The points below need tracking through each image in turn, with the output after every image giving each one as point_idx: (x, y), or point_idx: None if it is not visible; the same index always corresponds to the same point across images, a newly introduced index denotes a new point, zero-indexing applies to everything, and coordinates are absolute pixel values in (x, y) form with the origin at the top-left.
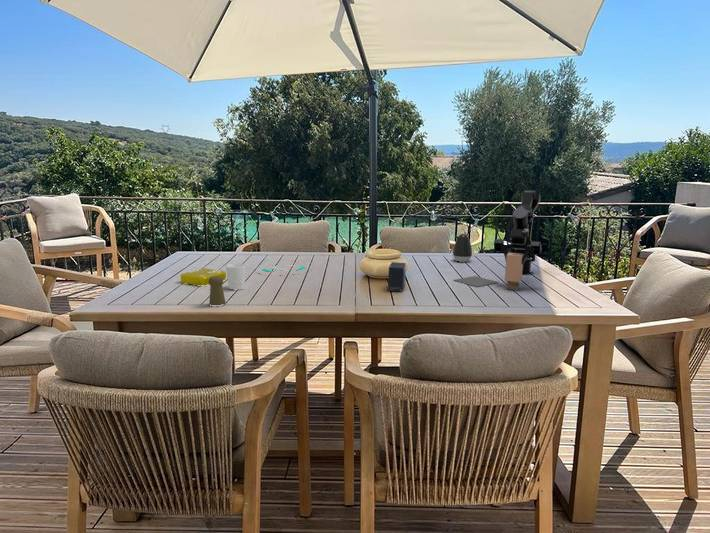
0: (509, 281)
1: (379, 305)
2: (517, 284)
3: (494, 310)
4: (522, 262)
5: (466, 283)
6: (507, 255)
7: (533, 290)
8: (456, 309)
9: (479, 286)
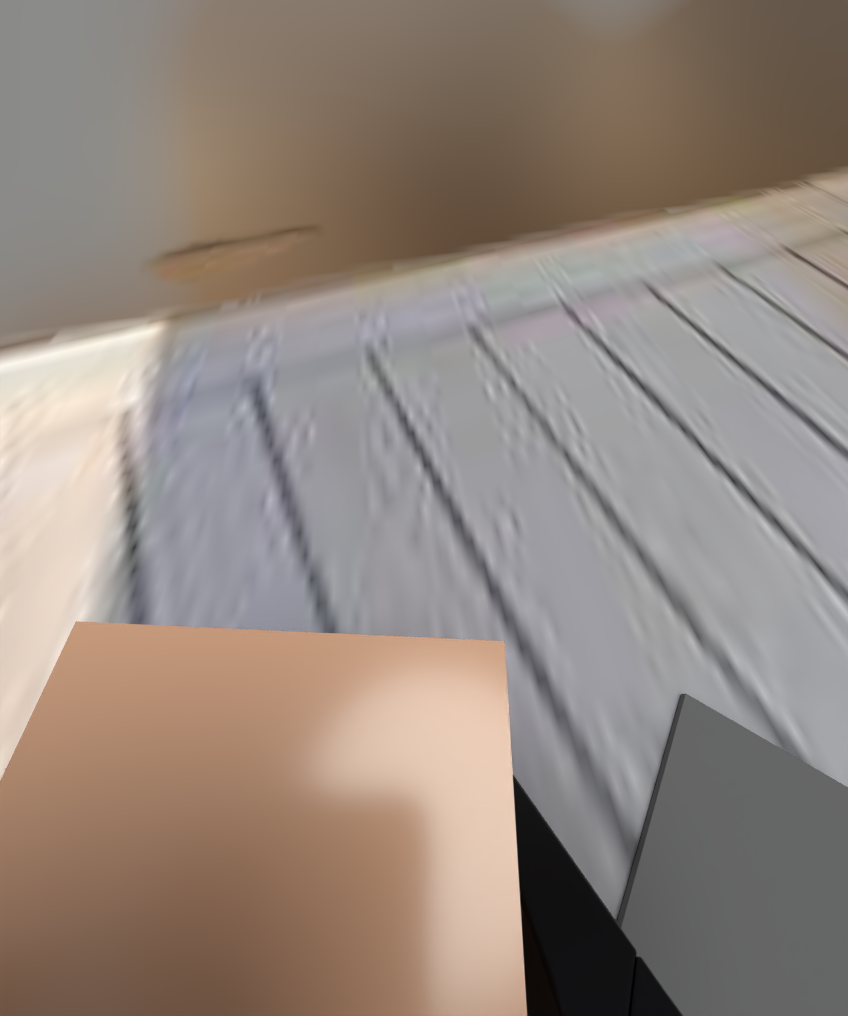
0: None
1: (824, 238)
2: None
3: (425, 299)
4: None
5: (829, 778)
6: (477, 645)
7: None
8: (566, 272)
9: (672, 729)
